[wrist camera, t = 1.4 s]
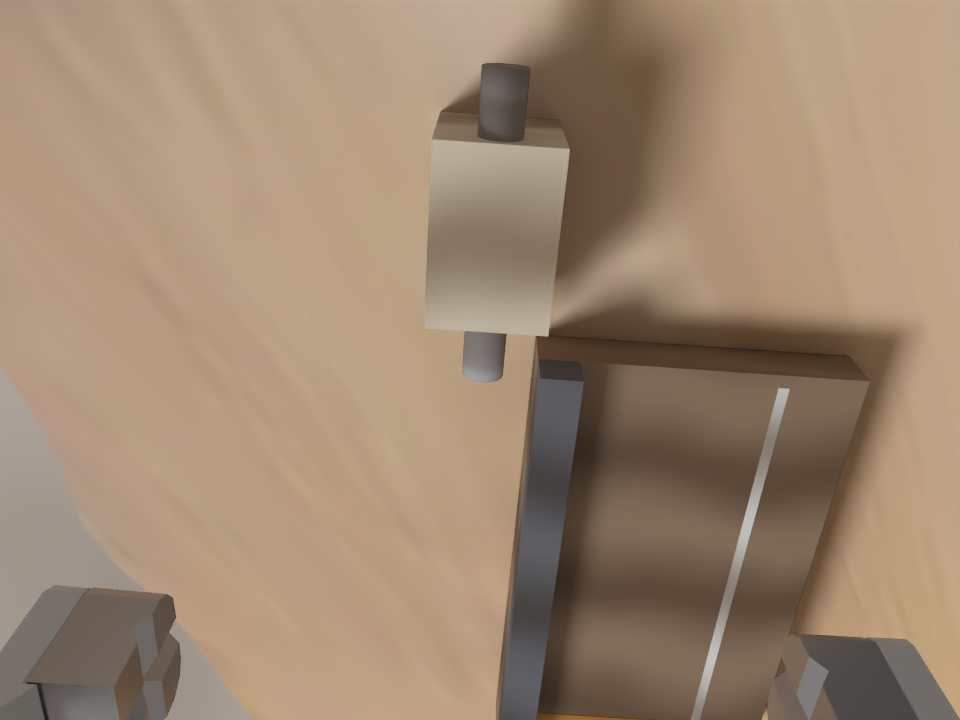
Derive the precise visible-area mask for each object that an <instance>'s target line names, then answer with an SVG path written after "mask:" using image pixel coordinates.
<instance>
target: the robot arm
mask: <svg viewBox="0 0 960 720" xmlns="http://www.w3.org/2000/svg"><path fill="white" fill-rule="evenodd" d="M175 618H176V614H175V608H174V602H173V598H172V597H171V596H169V595H168V594H160V593H149V592H137V591H125V590H114V589H102V588H92V589H91V588H80V587H70V586H60V585H54V586H52V587H51V588H49V589H47V590H46V591H44V592H43V593H42V595H41V596H40V597H39V599H38V600H37V602H36V603H35V604H34V606H33V607H32V609H31V610H30V611H29V613H28V614H27V615H26V617H25V618H24V620H23V621H22V622H21V624H20V625H19V626H18V628H17V629H16V631H15V632H14V633H13V635H12V636H11V637H10V639H9V640H8V642H7V643H6V644H5V646H4V647H3V649H2V650H1V652H0V720H164V719H165V718H166V717H167V715H168V713H169V710H170V708H171V705H172V703H173V701H174V698H175V694H176V690H177V685H178V681H179V677H180V662H181V655H180V646H179V642H178V641H177V640H176V639H175V638H174V637H173V636H172V635H171V634H170V633H169V631H170V629H171V627H172V625H173V623H174V620H175ZM780 656H781V658H782V661H783V663H784V666H785V668H786V670H785V671H784V672H783V673H781V674H780V675H779V676H778V677H776V678H775V679H774V680H773V681H772V685H771V689H770V693H769V697H768V720H960V719H959V717H958V715H957V714H956V712H955V711H954V709H953V707H952V706H951V704H950V703H949V701H948V699H947V698H946V696H945V695H944V693H943V691H942V690H941V688H940V687H939V685H938V683H937V682H936V680H935V679H934V677H933V675H932V674H931V672H930V671H929V669H928V667H927V666H926V664H925V662H924V661H923V659H922V658H921V656H920V654H919V653H918V651H917V650H916V648H915V647H914V645H913V644H911V643H910V642H909V641H907V640H906V639H892V638H871V637H867V638H862V637H846V636H827V635H809V634H790V636H789V637H788V638H787V639H786V640H785V643H784V646H783V649H782V652H781V655H780Z"/></svg>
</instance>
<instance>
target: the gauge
mask: <svg viewBox="0 0 960 720" xmlns="http://www.w3.org/2000/svg"><path fill="white" fill-rule="evenodd" d="M529 78H530V68H529V67H526V66H522V65H515V64H505V63H486V64H482V72H481V88H480V103H479V114H469V113H455V112H442V111H441V112H440V115H439V118H438V121H437V124H436V128H435V131H434V134H433V137H432V146H431V171H430V196H429V221H428V246H427V271H426V296H425V321H424V328H429V329H444V330H459V331H465V335H464V350H463V366H462V374H463V375H464V376H465V377H466V378H467V379H469V380H472V381H476V382H483V383H488V382H494V381H497V380H499V379H500V378H501V377H502V376H503V366H504V355H505V344H506V334H518V335H533V336H548V335H549V326H550V318H551V309H552V300H553V292H554V283H555V274H556V266H557V257H558V248H559V240H560V231H561V223H562V214H563V205H564V197H565V188H566V179H567V171H568V162H569V154H570V148H569V145H568V142H567V140H566V137H565V134H564V132H563V129H562V126H561V123H560V121H559V120H552V119H538V118H526V111H527V100H528V89H529Z"/></svg>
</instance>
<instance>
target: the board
mask: <svg viewBox="0 0 960 720" xmlns="http://www.w3.org/2000/svg"><path fill="white" fill-rule="evenodd" d="M869 383H870V381H869V380H868V379H867V377H866V376H865V375H864V374H863V373H862V371H861V370H860V369H859V368H858V367H857V366H856V364H855V363H854V362H853V361H852V360H851V359H850V357H848V356H833V355H818V354H804V353H789V352H775V351H760V350H745V349H731V348H716V347H702V346H687V345H672V344H658V343H643V342H629V341H614V340H600V339H585V338H570V337H556V336H536V340H535V349H534V359H533V368H532V377H531V386H530V395H529V405H528V414H527V423H526V432H525V442H524V451H523V460H522V469H521V478H520V488H519V497H518V506H517V515H516V525H515V534H514V543H513V552H512V561H511V571H510V580H509V589H508V598H507V608H506V617H505V626H504V635H503V644H502V654H501V663H500V672H499V681H498V691H497V700H496V720H761V719H762V716H763V713H764V710H765V707H766V704H767V701H768V697H769V693H770V689H771V685H772V681H773V680H774V679H775V676H776V673H777V669H778V666H779V663H780V660H781V656H780V655H781V652H782V649H783V646H784V643H785V640H786V639H787V638H788V635H789V632H790V629H791V626H792V623H793V620H794V617H795V613H796V610H797V607H798V604H799V601H800V598H801V595H802V592H803V589H804V585H805V582H806V579H807V576H808V573H809V570H810V567H811V564H812V561H813V557H814V554H815V551H816V548H817V545H818V542H819V539H820V536H821V533H822V529H823V526H824V523H825V520H826V517H827V514H828V511H829V508H830V505H831V501H832V498H833V495H834V492H835V489H836V486H837V483H838V480H839V477H840V473H841V470H842V467H843V464H844V461H845V458H846V455H847V452H848V448H849V445H850V442H851V439H852V436H853V433H854V430H855V427H856V424H857V420H858V417H859V414H860V411H861V408H862V405H863V402H864V399H865V396H866V392H867V389H868V386H869Z"/></svg>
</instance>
